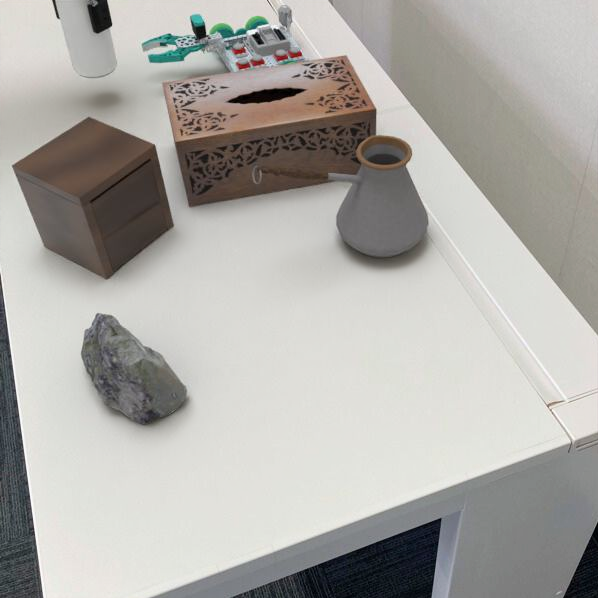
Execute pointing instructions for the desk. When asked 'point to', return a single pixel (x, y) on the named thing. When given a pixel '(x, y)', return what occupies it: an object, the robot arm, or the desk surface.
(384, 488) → the desk surface
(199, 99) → the tissue box cover
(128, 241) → the wooden drawer cube
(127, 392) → the mineral rock
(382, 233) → the coffee pot
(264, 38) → the robot kit
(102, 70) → the can
